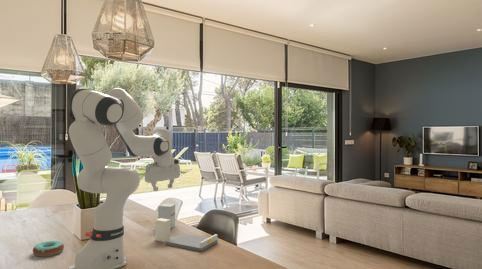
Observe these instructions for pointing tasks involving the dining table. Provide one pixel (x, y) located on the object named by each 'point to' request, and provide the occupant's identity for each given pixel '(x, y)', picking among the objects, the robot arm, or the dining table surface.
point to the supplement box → (167, 213)
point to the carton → (162, 229)
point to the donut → (48, 248)
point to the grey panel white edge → (192, 242)
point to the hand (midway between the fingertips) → (163, 189)
